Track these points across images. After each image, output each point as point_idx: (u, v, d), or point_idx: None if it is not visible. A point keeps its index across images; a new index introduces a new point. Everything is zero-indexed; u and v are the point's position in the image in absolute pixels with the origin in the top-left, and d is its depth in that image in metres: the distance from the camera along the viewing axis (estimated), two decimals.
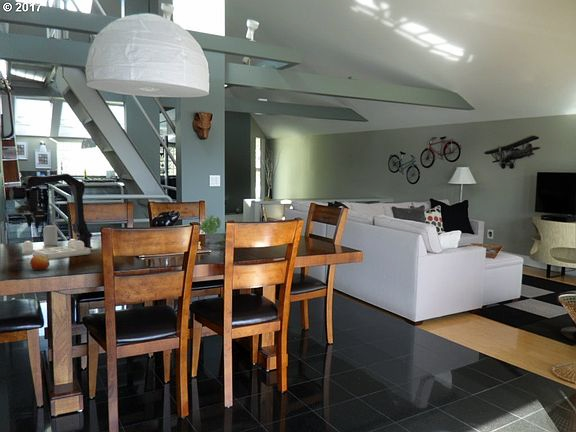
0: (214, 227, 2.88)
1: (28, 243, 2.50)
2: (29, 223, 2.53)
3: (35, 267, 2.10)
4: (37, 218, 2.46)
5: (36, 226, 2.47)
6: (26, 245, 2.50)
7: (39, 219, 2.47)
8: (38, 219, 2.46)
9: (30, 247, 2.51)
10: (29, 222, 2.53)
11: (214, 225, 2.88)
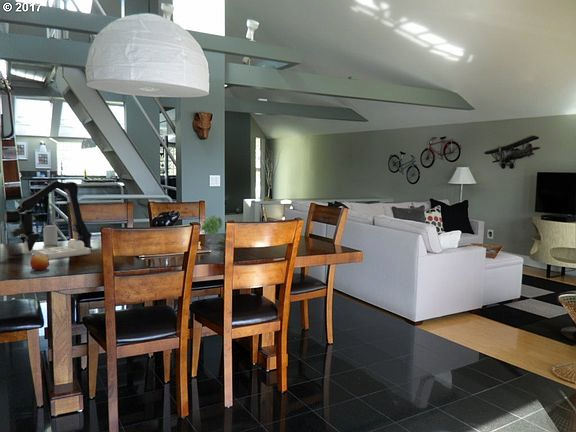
0: (216, 227, 2.88)
1: None
2: None
3: (35, 267, 2.10)
4: (30, 241, 2.50)
5: (29, 249, 2.50)
6: (26, 245, 2.50)
7: (32, 242, 2.50)
8: (31, 242, 2.50)
9: None
10: None
11: (216, 225, 2.88)
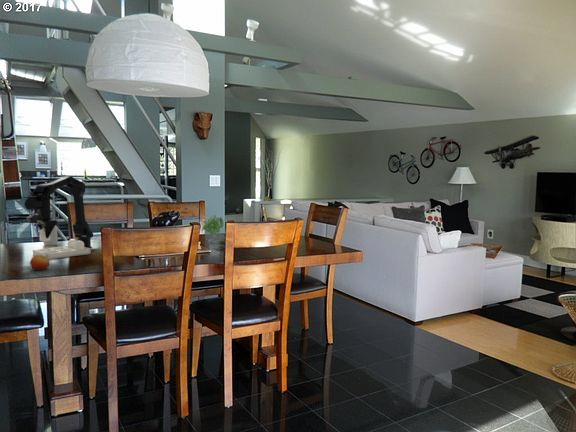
0: (217, 227, 2.88)
1: None
2: None
3: (35, 267, 2.10)
4: (48, 228, 2.40)
5: (47, 236, 2.41)
6: (43, 232, 2.40)
7: (50, 229, 2.40)
8: (49, 229, 2.40)
9: None
10: None
11: (217, 225, 2.88)
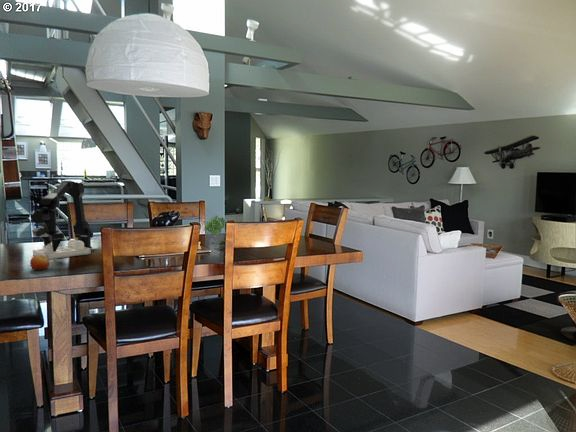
0: (219, 227, 2.88)
1: (51, 245, 2.40)
2: None
3: (35, 267, 2.10)
4: (55, 241, 2.38)
5: (54, 249, 2.39)
6: (49, 248, 2.39)
7: (57, 242, 2.39)
8: (56, 242, 2.38)
9: None
10: None
11: (219, 225, 2.88)
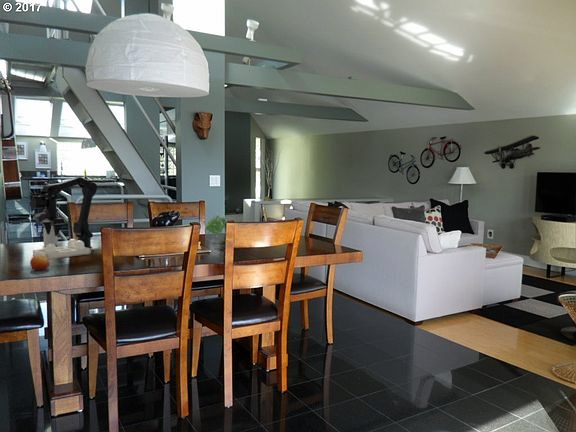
0: (220, 227, 2.88)
1: (51, 245, 2.40)
2: (48, 231, 2.57)
3: (35, 267, 2.10)
4: (56, 226, 2.51)
5: (55, 234, 2.51)
6: (49, 248, 2.39)
7: (58, 227, 2.51)
8: (57, 227, 2.51)
9: (53, 250, 2.41)
10: (48, 230, 2.57)
11: (220, 225, 2.88)
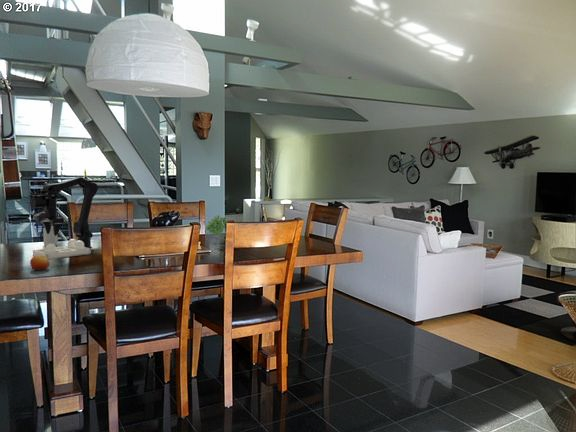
0: (221, 227, 2.88)
1: (51, 245, 2.40)
2: (48, 230, 2.58)
3: (35, 267, 2.10)
4: (56, 226, 2.51)
5: (55, 233, 2.51)
6: (49, 248, 2.39)
7: (58, 226, 2.51)
8: (57, 226, 2.51)
9: (53, 250, 2.41)
10: (48, 229, 2.58)
11: (221, 225, 2.88)
